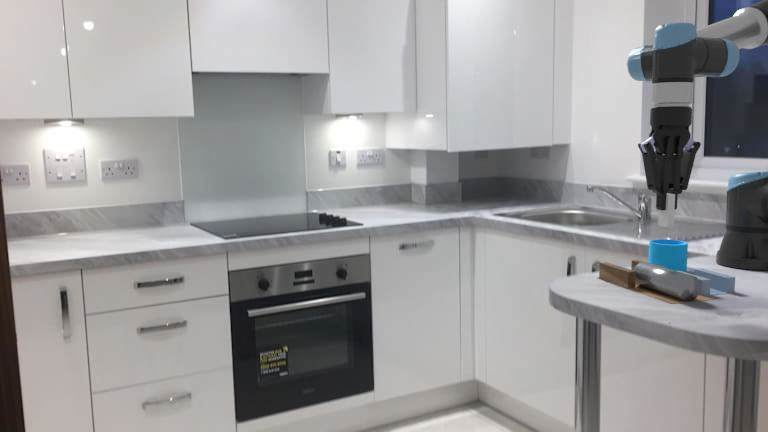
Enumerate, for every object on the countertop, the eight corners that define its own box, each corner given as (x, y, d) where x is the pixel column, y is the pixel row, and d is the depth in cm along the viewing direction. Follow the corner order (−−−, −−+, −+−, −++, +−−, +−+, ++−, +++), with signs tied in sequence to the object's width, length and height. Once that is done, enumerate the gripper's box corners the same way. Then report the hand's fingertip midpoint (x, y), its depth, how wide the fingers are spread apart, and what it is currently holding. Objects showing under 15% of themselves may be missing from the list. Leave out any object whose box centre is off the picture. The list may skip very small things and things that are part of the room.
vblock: (699, 288, 149) (700, 268, 148) (736, 299, 140) (737, 277, 139) (668, 291, 147) (669, 270, 146) (703, 303, 137) (704, 280, 137)
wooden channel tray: (634, 280, 157) (635, 259, 156) (714, 306, 134) (715, 281, 134) (596, 284, 154) (596, 262, 154) (670, 311, 131) (672, 285, 131)
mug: (679, 282, 155) (681, 246, 154) (642, 278, 160) (643, 242, 159) (696, 273, 164) (697, 239, 163) (660, 269, 169) (662, 236, 168)
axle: (634, 289, 146) (629, 267, 145) (654, 280, 147) (649, 258, 146) (681, 305, 132) (676, 281, 131) (702, 296, 134) (698, 271, 133)
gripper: (686, 106, 141) (680, 222, 144) (630, 106, 137) (625, 225, 140) (713, 105, 134) (706, 227, 137) (655, 105, 130) (649, 230, 133)
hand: (665, 226), depth 138 cm, fingers closed
